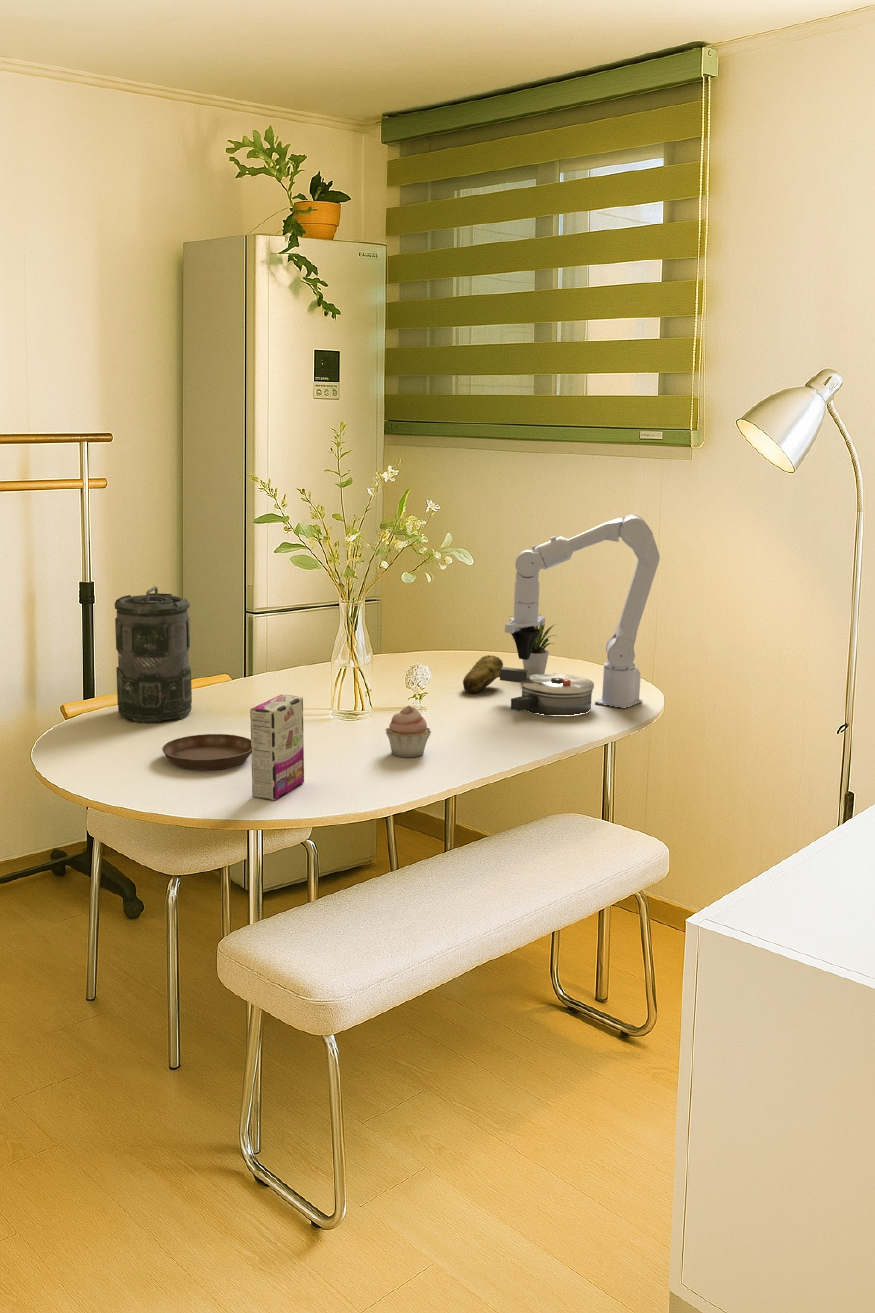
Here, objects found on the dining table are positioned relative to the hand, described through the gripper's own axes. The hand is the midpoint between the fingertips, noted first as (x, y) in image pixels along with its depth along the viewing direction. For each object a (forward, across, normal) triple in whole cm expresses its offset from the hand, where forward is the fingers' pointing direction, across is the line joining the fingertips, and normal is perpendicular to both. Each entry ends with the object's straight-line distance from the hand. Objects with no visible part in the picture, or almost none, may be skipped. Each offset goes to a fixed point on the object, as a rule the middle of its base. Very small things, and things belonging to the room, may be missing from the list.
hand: (523, 658), depth 282 cm
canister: (+10, +66, -54) cm, 85 cm away
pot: (+10, +5, +10) cm, 15 cm away
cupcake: (+10, +53, +6) cm, 54 cm away
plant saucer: (+10, +81, -21) cm, 84 cm away
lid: (+4, +2, +8) cm, 9 cm away
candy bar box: (+10, +86, +2) cm, 86 cm away
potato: (+10, -1, -13) cm, 16 cm away
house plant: (+10, -24, -13) cm, 29 cm away
